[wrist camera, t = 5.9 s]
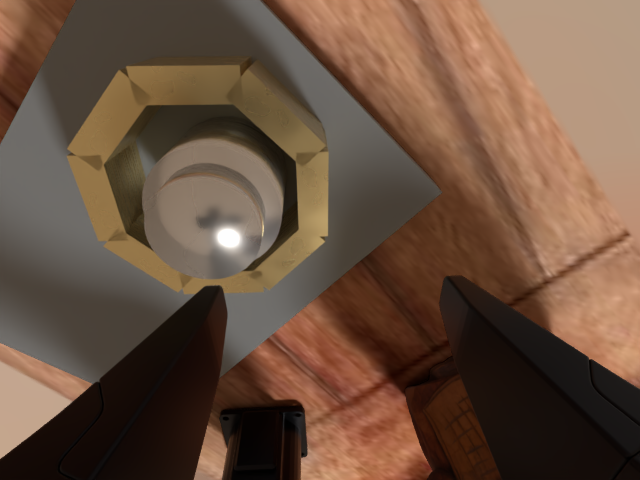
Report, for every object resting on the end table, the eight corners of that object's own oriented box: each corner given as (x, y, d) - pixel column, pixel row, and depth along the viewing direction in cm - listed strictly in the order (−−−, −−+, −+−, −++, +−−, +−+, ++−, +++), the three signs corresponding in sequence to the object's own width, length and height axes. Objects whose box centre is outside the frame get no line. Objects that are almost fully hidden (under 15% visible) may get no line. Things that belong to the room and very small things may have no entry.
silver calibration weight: (289, 218, 18) (284, 289, 14) (188, 222, 18) (147, 294, 13) (282, 114, 16) (272, 158, 11) (163, 118, 16) (102, 163, 11)
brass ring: (324, 254, 19) (327, 290, 17) (143, 258, 19) (119, 295, 17) (325, 55, 14) (329, 64, 12) (81, 57, 14) (32, 66, 12)
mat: (177, 399, 28) (171, 418, 26) (-62, 288, 21) (-85, 305, 20) (433, 180, 19) (442, 192, 18) (157, -111, 13) (141, -124, 12)
